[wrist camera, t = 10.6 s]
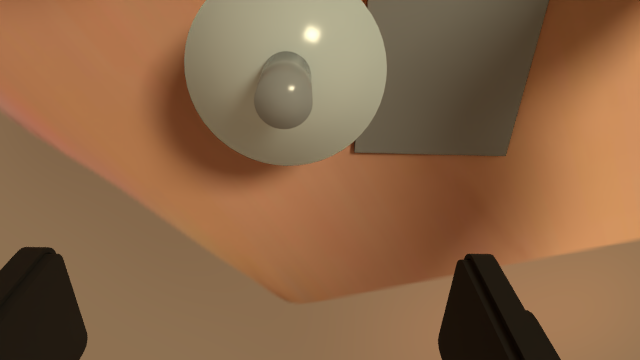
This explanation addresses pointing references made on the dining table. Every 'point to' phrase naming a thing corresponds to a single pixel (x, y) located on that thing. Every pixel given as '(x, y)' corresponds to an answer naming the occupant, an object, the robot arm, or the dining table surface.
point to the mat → (452, 74)
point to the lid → (285, 75)
